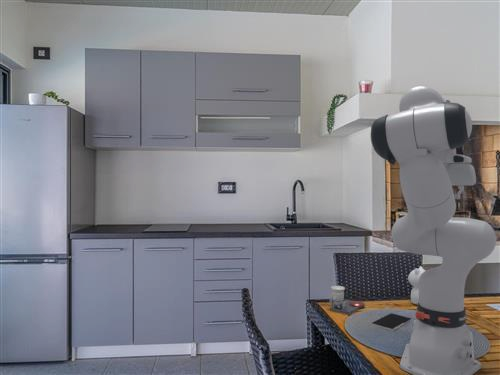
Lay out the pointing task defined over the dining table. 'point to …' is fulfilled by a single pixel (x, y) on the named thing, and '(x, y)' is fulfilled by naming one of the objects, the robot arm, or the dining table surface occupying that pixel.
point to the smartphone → (391, 321)
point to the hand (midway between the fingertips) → (442, 199)
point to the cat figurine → (415, 284)
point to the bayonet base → (346, 306)
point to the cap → (338, 293)
